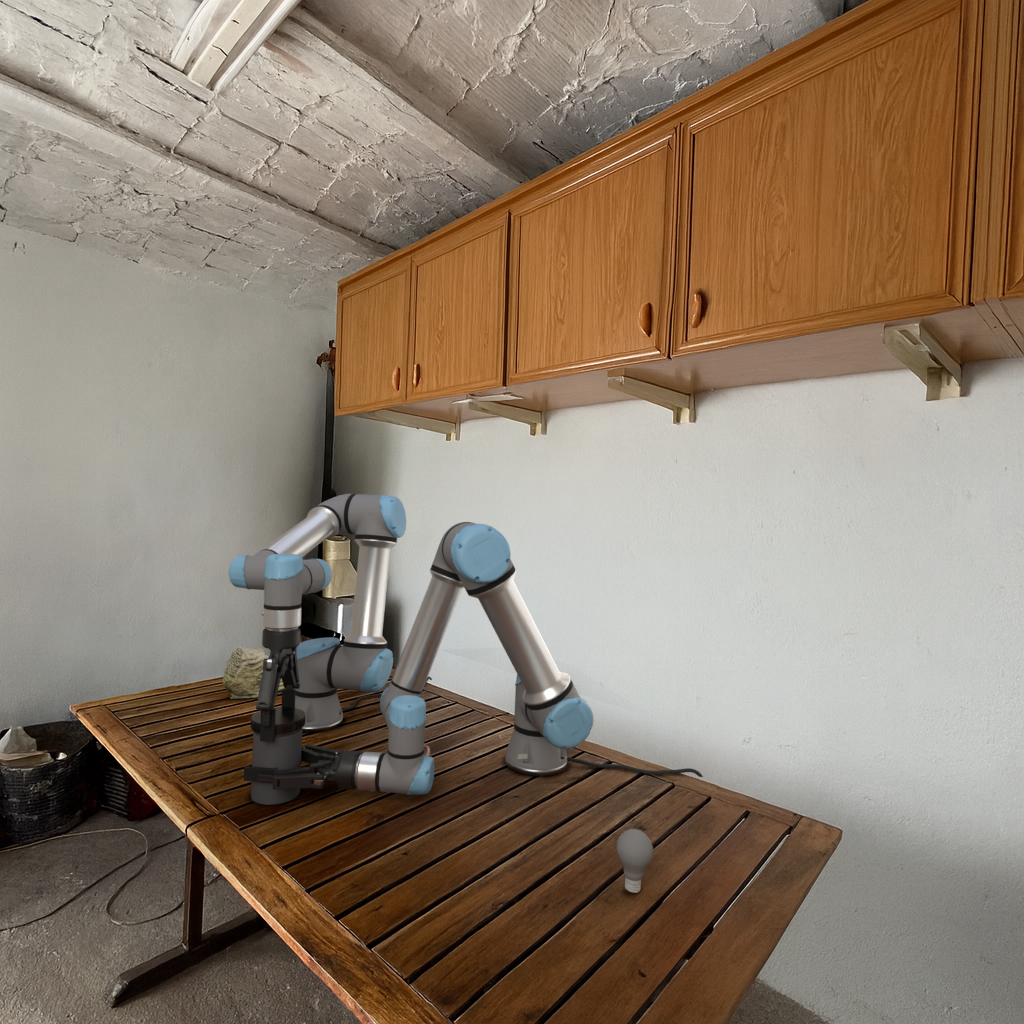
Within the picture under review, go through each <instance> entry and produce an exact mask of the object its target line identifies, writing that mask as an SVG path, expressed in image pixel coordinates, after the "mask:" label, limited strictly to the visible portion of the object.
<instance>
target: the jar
mask: <svg viewBox="0 0 1024 1024" xmlns="http://www.w3.org/2000/svg"><path fill="white" fill-rule="evenodd" d="M302 747H303V732H302V728H301V729H299V730H297V731H294V732H291V733H286V734H279V735H275V740H274V741H273V742H270V741H260V734H259V733H256V732H254V731H252V752H251V753H252V755H251V756H252V757H251V766H252V767H265V768H276V767H277V771H280V770H287V769H295V768H302V762H301V750H302ZM250 782H251V783H250V798H251V800H252V802H254V803H255V804H260V805H265V806H267V805H268V806H272V805H279V804H284V803H288V802H290V801H292V800H294V799H296V798H297V797H298V796H299V795H300V793H301V788H299V789H277V790H274V789H273V783H267V782H254V781H250Z"/></svg>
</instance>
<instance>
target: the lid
mask: <svg viewBox="0 0 1024 1024" xmlns="http://www.w3.org/2000/svg"><path fill="white" fill-rule="evenodd" d="M275 708H276V717H275V735H279V734H286V733H291V732H294V731H297V730H299V729H301V728H302V727H303V726H304V725H305V717H306V716H305V712H304V711H302V710H300V709H297V708H291V707H282V706H279V707H275ZM260 723H261V710H259V711H256V712H255V713H254V714H252V715H251V718H250V729H251V731H252V732H253V731H254V732H256V733H259V734H260Z"/></svg>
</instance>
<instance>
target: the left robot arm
mask: <svg viewBox="0 0 1024 1024" xmlns="http://www.w3.org/2000/svg"><path fill="white" fill-rule="evenodd" d="M406 529H407V514H406V509H405V507H404V504H403V502H402V500H401V499H400V498H398V497H397V496H394V495H388V494H386V495H385V494H370V493H369V494H368V493H367V494H364V493H344V494H339V495H336V496H334V497H331V498H329V499H327V500H324V501H323V502H320V503H318V505H315V506H314V507H312V508H311V509H310V510H309V511H308V513H307V515H306V517H305V518H304V519H302V520H301V521H300V522H298V523H297V524H295V525H294V526H293V527H291V528H290V529H289V530H287V531H286V532H285V533H283V534H282V535H280V536H279V537H277V538H276V539H275V540H273V541H272V542H270V543H269V544H267V546H265V547H264V548H262V549H261V550H259V551H258V552H257V553H255V554H253V555H248V554H246V555H238V556H236V557H234V558H233V559H232V561H231V562H230V564H229V567H228V577H229V581H230V583H231V584H232V586H234V587H235V588H240V589H246V590H258V591H263V610H262V611H261V613H260V615H261V616H263V618H262V620H263V621H262V626H263V627H264V628H263V630H262V634H261V635H262V638H261V646H262V647H263V648H265V649H268V650H269V651H270V652H269V655H268V656H269V658H268V659H266V658H264V660H263V672H262V678H261V684H260V690H259V695H258V697H257V701H256V705H255V709H256V711H258V710H259V711H261V723H260V741H270V742H273V741H274V740H275V717H276V708H277V707H275V704H276V700H277V696H278V694H277V692H278V688H279V684H280V680H281V678H282V682H283V685H284V688H286V689H283V690H282V693H281V707H291V708H297V709H300V710H302V711H304V712H305V716H306V717H305V725H304V726H303V727H302V733H316V732H325V731H329V730H332V729H335V728H337V727H339V726H340V725H342V723H343V722H344V714H343V711H345V710H346V711H347V710H351V709H353V708H355V706H356V704H357V702H359V701H362V700H364V699H368V698H369V699H370V698H376V697H381V695H382V693H377V692H379V691H381V690H382V689H383V688H384V687H385V685H386V684H387V682H388V681H389V678H390V676H391V673H392V669H393V665H394V657H393V656H394V654H393V651H392V650H390V649H389V648H387V647H388V641H387V640H386V639H385V637H384V636H383V630H384V621H385V620H384V619H385V609H386V601H387V599H386V598H387V591H388V590H387V589H388V579H389V569H390V559H391V550H392V549H393V548H394V547H395V546H396V545H397V543H398V539H401V538H402V537H404V536H405V531H406ZM337 535H353V536H354V543H356V544H357V545H358V547H359V550H358V556H357V557H358V559H357V567H356V577H355V585H354V587H355V588H354V596H353V605H352V614H351V615H352V616H351V624H350V625H351V626H350V633H349V634H348V636H346V637H345V638H344V639H343V644H340V643H341V641H340V639H339V638H338V637H334V636H333V637H318V638H313V639H307V640H304V641H302V642H301V628H300V626H301V625H302V598H303V597H302V596H305V595H309V594H313V593H318V592H320V591H322V590H325V589H326V588H327V587H328V586H329V585H330V583H331V582H332V578H333V571H332V568H331V566H330V564H329V563H328V562H327V561H325V560H324V559H320V558H308V559H303V558H304V557H305V556H306V555H307V554H309V553H310V552H311V551H313V550H314V549H315V548H316V547H317V546H319V544H321V543H322V542H324V541H325V540H330V539H333V538H334V537H335V536H337ZM432 680H433V679H432V677H431V676H428V678H427V680H426V683H425V685H426V684H427V683H428V681H432ZM338 689H339V690H347V691H348V690H349V691H358V692H361V693H366V692H367V693H374V694H369V695H364V696H361V697H358V698H356V699H355V700H354V701H353V703H352V705H350V706H344V707H343V706H341V702H340V699H339V695H338ZM375 693H376V694H375Z"/></svg>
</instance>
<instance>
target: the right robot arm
mask: <svg viewBox="0 0 1024 1024" xmlns="http://www.w3.org/2000/svg"><path fill="white" fill-rule="evenodd" d="M511 557H512V553H511V547H510V545H509V542H508V540H507V538H506V537H505V536H504V535H503V534H502V533H501V532H500V531H499V530H497V528H495V527H493V526H492V525H489V524H485V523H476V522H471V521H461V522H458V523H455V524H454V525H452V526H450V527H449V528H448V529H447V530H446V531H445V532H444V533H443V535H442V537H441V538H440V542H439V544H438V547H437V550H436V553H435V555H434V558H433V561H432V564H431V566H430V569H429V572H430V575H431V578H430V580H429V584H428V586H427V588H426V591H425V594H424V596H423V598H422V601H421V604H420V606H419V608H418V612H417V614H416V617H415V619H414V622H413V624H412V627H411V629H410V631H409V634H408V636H407V639H406V642H405V644H404V647H403V650H402V652H401V654H400V657H399V660H398V662H397V665H396V667H395V670H394V672H393V675H392V678H391V679H390V680H391V681H390V683H389V685H388V687H386V688H385V689H384V690H383V692H382V693H381V694H382V695H381V696H380V698H379V700H380V702H379V705H380V707H379V708H380V712H381V714H382V716H383V718H384V721H385V724H386V727H387V731H388V740H387V742H388V743H387V744H388V746H387V753H386V752H378V751H363V752H362V751H359V750H348V749H347V750H345V749H333V748H329V747H324V746H319V745H314V744H309V743H307V744H305V745H304V747H303V746H302V750H301V763H305V764H308V766H303V767H302V766H301V768H295V769H287V770H280V771H277V767H276V768H265V767H252V765H251V766H250V765H245V766H244V767H243V782H251V781H254V782H267V783H273V789H274V790H277V789H299V788H300V789H318V790H322V789H324V788H325V783H326V782H335V783H336V786H337V788H339V789H340V790H352V791H355V790H356V789H357V790H359V791H367V792H370V793H375V792H378V793H379V792H381V793H391V794H392V793H393V794H402V795H407V796H409V795H411V796H412V795H413V796H414V795H416V796H417V795H419V796H421V795H427V794H428V793H430V792H431V789H432V788H433V784H434V780H435V779H434V778H435V770H436V769H435V768H436V766H435V759H434V757H432V756H430V755H429V756H427V755H425V752H424V745H425V737H426V721H427V715H428V714H427V713H426V712H427V704H426V701H425V699H424V698H423V697H421V695H422V693H423V691H424V688H425V686H426V684H427V683H426V680H427V678H428V677H429V675H430V673H431V670H432V667H433V664H434V662H435V661H436V657H437V655H438V652H439V649H440V646H441V644H442V642H443V640H444V637H445V634H446V632H447V629H448V626H449V623H450V622H451V619H452V616H453V614H454V611H455V609H456V606H457V603H458V601H459V598H460V596H461V594H462V590H463V589H464V590H465V591H466V594H467V595H468V597H472V598H475V599H476V600H478V602H479V603H480V605H481V607H482V609H483V611H484V613H485V615H486V617H487V619H488V621H489V622H490V625H491V627H492V628H493V630H494V632H495V634H496V636H497V638H498V640H499V642H500V643H501V646H502V647H503V650H504V652H505V654H506V655H507V657H508V659H509V661H510V663H511V665H512V666H513V669H514V671H515V672H516V680H515V683H514V686H515V692H514V696H515V697H514V716H513V717H514V720H513V723H514V724H513V731H512V734H511V737H510V740H509V742H508V745H507V748H506V751H505V755H504V756H505V757H504V763H505V765H506V766H507V767H508V768H509V769H511V770H512V771H514V772H516V773H519V774H522V775H527V776H533V777H547V776H554V775H558V774H560V773H562V772H564V771H565V770H566V769H567V767H568V762H570V763H571V762H572V763H576V764H581V765H585V766H588V767H592V768H599V769H622V770H627V771H633V772H635V773H641V774H644V775H668V774H683V773H692V774H695V775H696V776H697V777H699V778H703V777H704V776H703V774H702V773H701V772H700V771H699V770H697V769H694V768H689V767H687V768H679V769H678V768H677V769H658V770H652V769H651V770H650V769H643V768H638V767H635V766H630V765H627V764H617V763H616V764H615V763H596V762H590V761H586V760H583V759H578V758H574V757H570V756H568V754H567V750H570V749H573V748H577V747H578V746H580V745H581V744H583V742H584V741H586V740H587V739H588V737H589V735H590V734H591V731H592V729H593V726H594V721H595V720H594V712H593V709H592V707H591V706H590V704H589V703H588V702H587V701H586V700H585V699H584V698H582V697H581V696H580V694H579V692H578V690H577V688H576V687H575V683H574V682H573V680H572V678H571V677H570V675H569V674H568V673H567V672H564V671H562V670H559V668H558V666H557V664H556V662H555V660H554V658H553V656H552V654H551V651H550V650H549V648H548V646H547V643H546V642H545V640H544V639H543V636H542V634H541V631H540V630H539V628H538V626H537V624H536V622H535V620H534V618H533V616H532V614H531V612H530V610H529V608H528V606H527V605H526V602H525V601H524V598H523V597H522V595H521V592H520V591H519V588H518V587H517V585H516V582H515V581H514V579H515V577H516V574H517V569H516V567H515V565H514V563H513V561H512V559H511ZM425 683H426V684H425ZM668 770H669V771H668Z"/></svg>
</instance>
